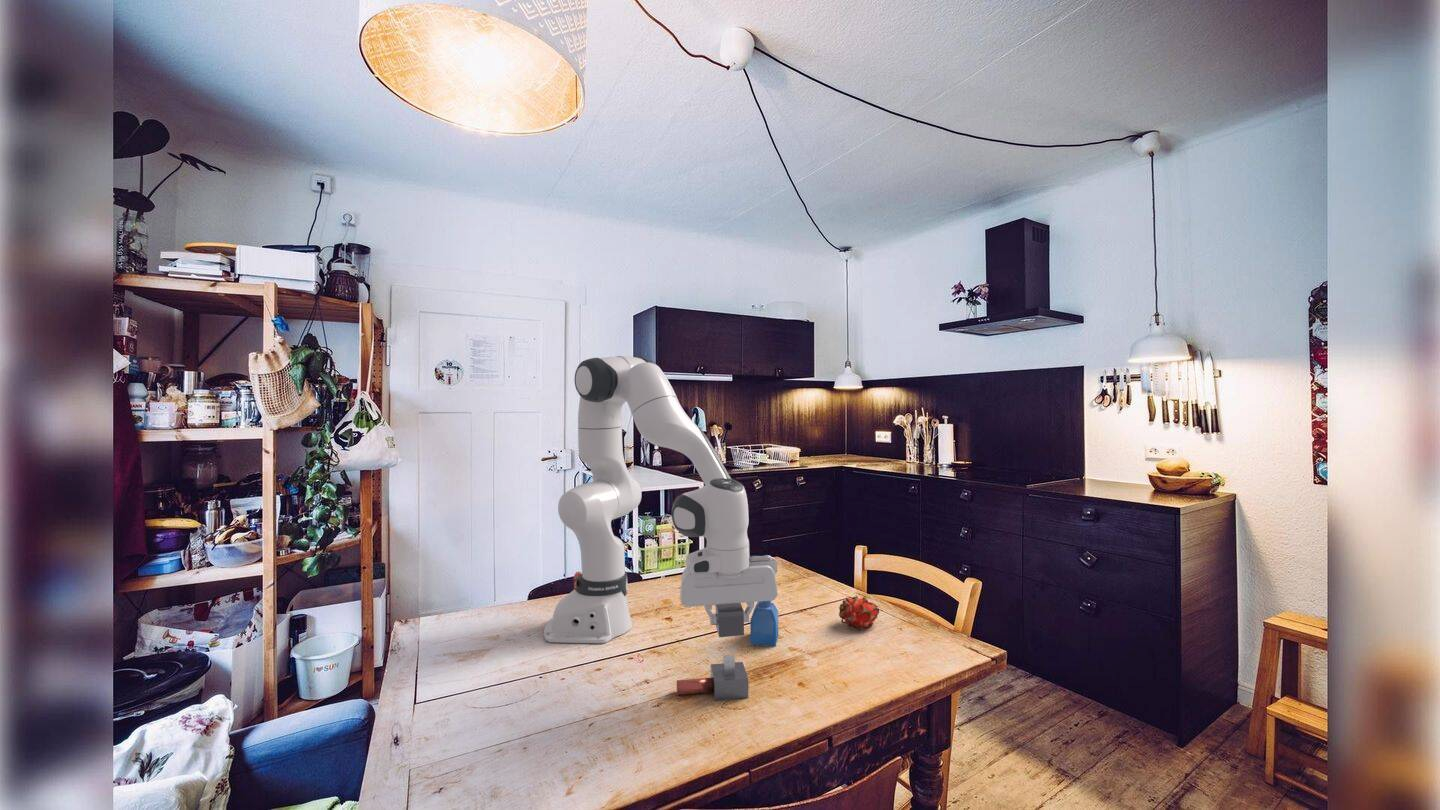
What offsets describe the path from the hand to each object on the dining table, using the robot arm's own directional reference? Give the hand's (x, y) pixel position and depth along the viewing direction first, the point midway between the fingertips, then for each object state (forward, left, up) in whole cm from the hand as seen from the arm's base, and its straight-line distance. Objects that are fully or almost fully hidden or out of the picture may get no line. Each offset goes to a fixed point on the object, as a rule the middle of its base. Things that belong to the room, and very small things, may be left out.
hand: (729, 622), depth 122 cm
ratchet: (-4, 0, -15) cm, 15 cm away
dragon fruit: (+38, +25, -15) cm, 48 cm away
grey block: (0, 0, -2) cm, 2 cm away
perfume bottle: (+12, +21, -15) cm, 29 cm away
